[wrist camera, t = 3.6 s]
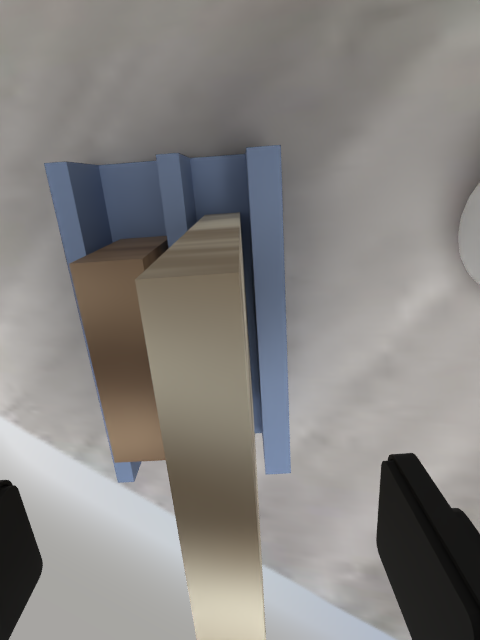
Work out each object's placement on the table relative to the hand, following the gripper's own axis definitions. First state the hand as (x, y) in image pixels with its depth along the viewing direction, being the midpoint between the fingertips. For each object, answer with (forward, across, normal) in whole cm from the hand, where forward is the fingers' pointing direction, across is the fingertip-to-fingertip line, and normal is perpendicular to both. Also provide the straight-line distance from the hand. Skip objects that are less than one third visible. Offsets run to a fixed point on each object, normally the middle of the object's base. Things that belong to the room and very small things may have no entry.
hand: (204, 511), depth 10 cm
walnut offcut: (+15, +4, 0) cm, 15 cm away
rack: (+16, +2, 0) cm, 16 cm away
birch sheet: (+15, -1, 0) cm, 15 cm away
